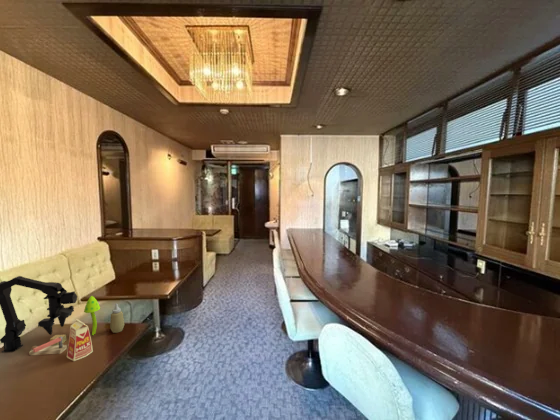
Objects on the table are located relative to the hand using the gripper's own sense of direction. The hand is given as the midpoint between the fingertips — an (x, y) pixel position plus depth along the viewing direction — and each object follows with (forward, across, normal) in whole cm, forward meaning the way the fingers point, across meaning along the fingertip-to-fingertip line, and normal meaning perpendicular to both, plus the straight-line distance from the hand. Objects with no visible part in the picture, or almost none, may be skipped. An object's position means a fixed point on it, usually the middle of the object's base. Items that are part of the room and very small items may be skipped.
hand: (56, 330), depth 156 cm
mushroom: (+8, +8, -16) cm, 19 cm away
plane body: (+8, -9, -2) cm, 12 cm away
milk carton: (+8, -14, -22) cm, 27 cm away
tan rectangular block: (+8, 0, -1) cm, 8 cm away
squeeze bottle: (+8, +11, -29) cm, 32 cm away
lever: (+1, -14, -6) cm, 15 cm away
